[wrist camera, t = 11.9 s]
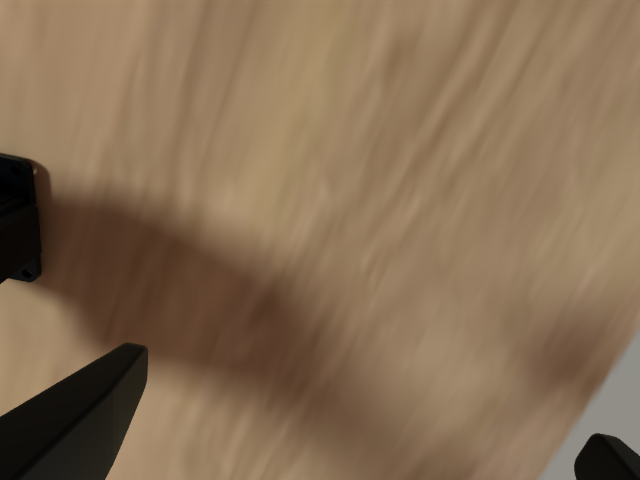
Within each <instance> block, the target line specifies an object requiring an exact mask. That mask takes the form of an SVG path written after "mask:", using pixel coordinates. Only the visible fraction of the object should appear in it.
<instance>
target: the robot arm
mask: <svg viewBox="0 0 640 480" xmlns="http://www.w3.org/2000/svg"><path fill="white" fill-rule="evenodd" d="M16 166H19V167H20V168H21V170H22V173H21V172H19V171H18V170H17V167H16ZM40 253H41V240H40V228H39V216H38V208H37V207H36V200H35V188H34V176H33V169H32V166H31V164H30V163H29V162H28V161H27V160H26V159H23V158H21V157H16V156H11V155H6V154H1V153H0V284H1V283H2V282H4V281H5V280H6V279H8V278H10V279H15V280H20V281H25V282H33V281H35V280H36V279H37V278H39V277H40V275H41V272H42V271H41V259H40ZM27 270H29V271H30V272H31V273H32V274H31V273H29V272H28V271H27ZM147 372H148V349H147V347H146V346H144V345H139V344H134V343H124V344H122V345H121V346H119V347H117V348H115V349H114V350H112V351H110V352H109V353H107V354H105V355H104V356H102V357H100V358H99V359H97V360H95V361H94V362H92V363H90V364H88V365H87V366H85V367H83V368H82V369H80V370H78V371H77V372H75V373H73V374H72V375H70V376H68V377H67V378H65V379H63V380H62V381H60V382H58V383H56V384H55V385H53V386H51V387H50V388H48V389H46V390H45V391H43V392H41V393H40V394H38V395H36V396H35V397H33V398H31V399H29V400H28V401H26V402H24V403H23V404H21V405H19V406H18V407H16V408H14V409H13V410H11V411H9V412H8V413H6V414H4V415H2V416H1V417H0V480H105V479H106V477H107V475H108V473H109V471H110V469H111V467H112V465H113V463H114V461H115V459H116V456H117V454H118V452H119V449H120V447H121V445H122V442H123V440H124V437H125V435H126V433H127V430H128V428H129V425H130V423H131V421H132V418H133V416H134V413H135V411H136V409H137V406H138V404H139V401H140V399H141V397H142V394H143V392H144V389H145V386H146V382H147ZM574 471H575V476H576V480H640V456H639V455H638V454H637V453H635V452H634V451H633V450H632V449H631V448H629V447H628V446H627V445H626V444H625V443H623V442H622V441H621V440H620V439H618V438H617V437H614V436H610V435H605V434H600V433H596V434H593V435H592V436H591V437H590V438H589V439H588V441H587V442H586V444H585V446H584V447H583V449H582V450H581V452H580V453H579V455H578V456H577V458H576V460H575V464H574Z"/></svg>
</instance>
